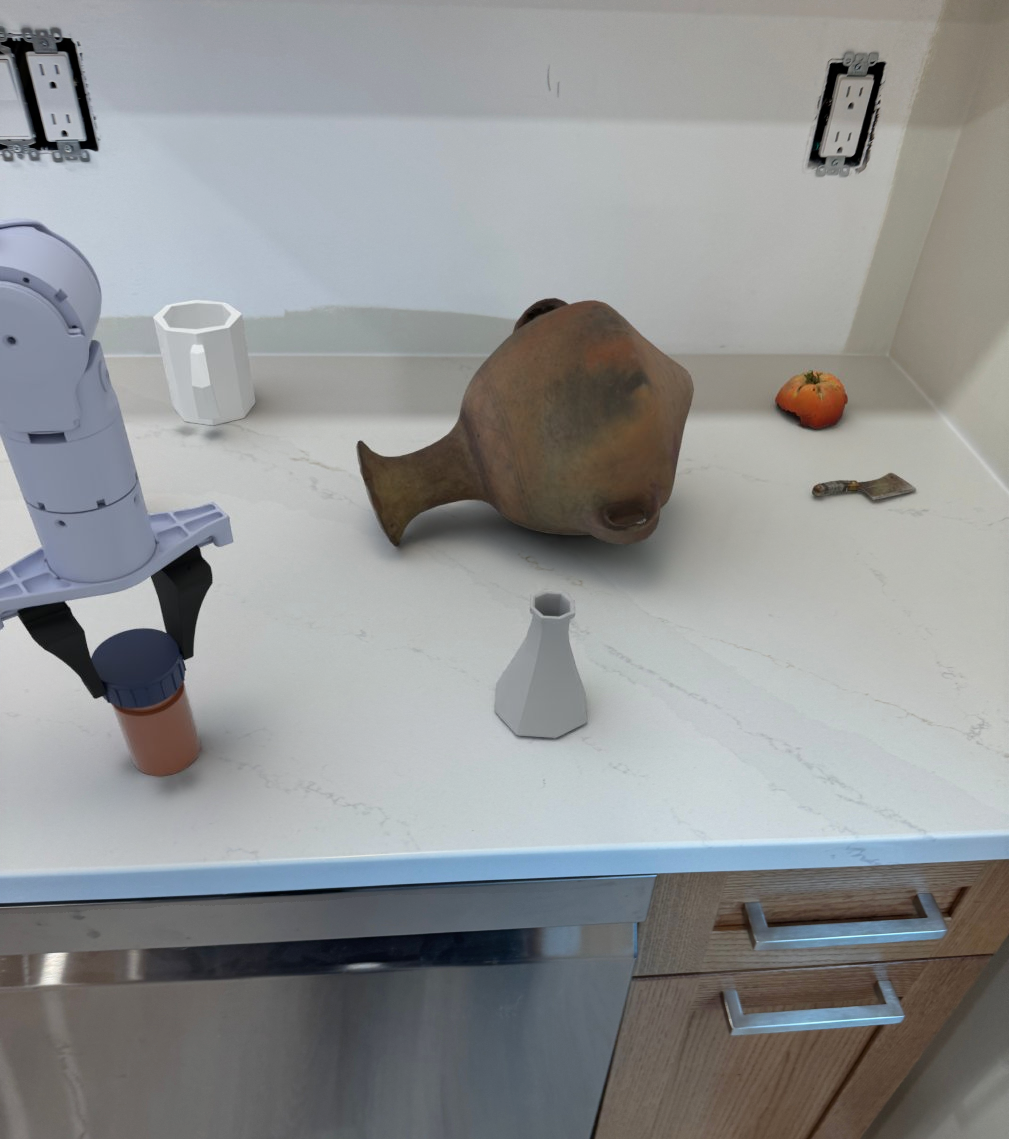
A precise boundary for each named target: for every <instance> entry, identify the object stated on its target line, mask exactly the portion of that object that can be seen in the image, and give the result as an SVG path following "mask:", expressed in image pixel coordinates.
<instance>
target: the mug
mask: <svg viewBox="0 0 1009 1139" xmlns="http://www.w3.org/2000/svg"><path fill="white" fill-rule="evenodd" d="M152 319H153V323H154V328H155V332H156V337H157V341H158V346H159V351H160V354H161V355H160V356H161V359H162V363H163V364H162V365H163V368H164V373H165V378H166V382H167V385H168V390H169V395H170V400H171V404H172V408H173V410H174V411H175V412H176V413H177V414H178V415H179V417H180V418H181V419H182V421H183V422H184V423H191V424H200V425H206V426H216V425H221V424H224V423H229V422H235V421H237V420H241V419H246V416H247V415H248V414H249V413H250V411H251V409H252V408H253V406H254V405H255V404H256V397H255V391H254V383H253V378H252V371H251V370H252V369H251V364H250V363H251V362H250V357H249V352H248V345H247V344H248V343H247V339H246V338H247V337H246V331H245V324H244V318H243V313H242V312H241V311H240V310H238V309H236V308H235V307H233V306H232V305H230V304H229V303H227V302H224V301H215V300H214V301H213V300H203V299H202V300H201V299H192V300H186V301H181V302H174V303H170V304H166V305H165V306H164V307H162V308H161V309H160V310H159V311H158V312H157V313H156V314H155V315H154V316H153V317H152Z"/></svg>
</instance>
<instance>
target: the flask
mask: <svg viewBox="0 0 1009 1139" xmlns="http://www.w3.org/2000/svg"><path fill="white" fill-rule="evenodd" d="M529 612H530V614H531V615H532V616H531V620H530V623H529V627H528V630H527V633H526V635H525V637H524V639H523V640H522V643H521V644H520V646H519V648H518V649H517V651H516V652H515V654H514V656H513V657H512V659H511V660H510V662H509V663H508V665H507V666H506V668H505V669H504V670H503V672H502V673H501V675H500V676H499V678H498V680H497V682H496V683H495V694H494V696H495V697H494V713H496V714H497V716H498V717H500V719H501V720H502V721H503V722H504V723H505V724H506V725H507V727H508V728H509V729H510V730H511V731H512V732H513V733H514V734H515V735H516V736H518V737H519V736H521V737H535V738H536V737H538V738H550V739H557V738H559V737H561V736H563V735H564V734H567V733H568V732H569V733H570V732H571V731H573V730H575V729H577V728H578V727H581V726H583V725H585V724H587V722H588V719H587V718H588V716H587V714H588V713H587V695H586V691H585V688H584V684H583V682H582V678H581V675H580V673H579V670H578V666H577V663H576V660H575V657H574V653H573V650H572V646H571V643H570V632H569V630H570V623H571V620H573V619H574V618H575V617H576V600H575V599H574V598H573V597H572V596H571V595H570V594H569V593H567V592H566V591H565V590H561V589H550V588H549V589H547V588H546V589H542V590H540V591H538V592H535V593H533V594H530V596H529Z"/></svg>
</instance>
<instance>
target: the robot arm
mask: <svg viewBox="0 0 1009 1139" xmlns="http://www.w3.org/2000/svg"><path fill="white" fill-rule="evenodd" d="M102 296H103V295H102V289H101V284H100V280H99V278H98V275H97V273H96V271H95V269H94V267H93V266H92V264H91V262H90V261H89V260H88V258H87V257H86V256H85V255H84V254H83V252H81V250H80V249H79V248H78V247H76V245H75V244H73V243H72V242H71V241H69V240H68V239H67V238H65V237H64V236H62V235H60V234H59V233H56V232H54V231H52V230H51V229H50V228H48V226H46V225H45V224H44V223H42V222H41V221H39V220H36V219H30V218H22V217H21V218H19V217H18V218H17V217H16V218H14V217H13V218H6V219H1V220H0V439H1V442H2V445H3V446H4V449H5V452H6V455H7V458H8V460H9V463H10V465H11V469H12V471H13V474H14V476H15V478H16V482H17V485H18V487H19V489H20V492H21V496H22V498H23V500H24V503H25V505H26V508H27V511H28V513H29V516H30V520H31V522H32V524H33V527H34V530H35V532H36V535H37V537H38V541H39V543H40V547H38V548H37V549H36V550H33V551H32V552H31V553H29V554H27V555H25V556H23V557H22V558H20V559H18V560H17V561H15V562H14V563H12V564H10V565H9V566H7V567H5V568H3V569H2V570H0V631H1V630H3V629H4V628H5V625H4V624H5V623H4V622H5V621H8V620H10V619H13V618H16V617H18V619H19V620H20V622H21V623H22V625H23V627H24V628H25V629H26V631H27V632H28V634H29V635H30V637H31V638H32V640H33V641H34V642H35V643H36V644H37V645H39V647H41V648H42V649H43V650H44V651H46V652H48V653H50V654H52V655H53V656H55V657H56V658H57V659H59V660H60V661H62V662H63V663H64V664H65V665H67V666H68V667H69V668H70V669H71V670H72V671H73V672H74V673H75V674H76V675H77V676H78V677H79V678H80V680H81V682H82V683H83V685H84V686H85V688H86V690H87V691H88V692H89V694H90V695H91V697H92V699H94V700H97V699H100V698H103V697H102V696H104V695H106V693H105V689H104V686H103V684H102V681H101V679H100V677H99V675H98V673H97V671H96V669H95V667H94V665H93V663H92V660H91V657H92V655H91V653H90V650H89V646H88V641H87V637H86V631H85V630H84V628H83V627H82V625H81V624H80V623H79V621H78V620H77V618H76V617H75V616H74V614H73V611H72V609H71V607H70V606H69V605H68V603H67V602H68V601H75V600H81V599H87V598H92V597H93V598H94V597H98V596H105V595H111V594H116V593H119V592H122V591H126V590H129V589H131V588H133V587H135V586H138V585H140V584H141V583H143V582H144V581H146V580H147V579H149V578H150V579H151V582H152V585H153V587H154V590H155V593H156V595H157V598H158V604H159V607H160V611H161V616H162V620H163V621H162V622H163V626H164V629H165V632H166V633H167V634H169V635H170V636H171V637H172V638H173V639H174V640H175V642H176V643H177V644H178V646H179V649H180V653H182V656H183V660H184V662H185V661H187V660H189V659H192V658H193V657H194V655H195V654H194V653H195V636H196V629H197V623H198V619H199V615H200V610H201V607H202V605H203V602H204V600H205V598H206V595H207V594H208V592H209V590H210V588H211V587H212V585H213V578H214V577H213V570H212V567H211V565H210V563H209V562H208V561H207V560H206V559H205V558H204V557H203V555H202V551H201V550H202V549H201V548H203V547H206V546H209V545H211V544H213V545H214V547H216V548H223V547H225V546H227V545H230V544H232V543H234V542H235V541H234V535H233V531H232V526H231V521H230V516H229V515H228V514H227V513H226V512H225V511H224V510H223V509H222V508H221V507H220V506H219V505H218V504H217V503H216V502H214V501H211V502H208V503H205V504H202V505H198V506H197V505H196V506H193V507H188V508H182V509H176V510H168V511H161V512H154V513H148V509H147V505H146V500H145V498H144V493H143V490H142V486H141V482H140V479H139V475H138V470H137V467H136V463H135V459H134V455H133V452H132V448H131V444H130V441H129V436H128V434H127V433H128V432H127V429H126V425H125V421H124V418H123V414H122V410H121V407H120V402H119V399H118V395H117V394H116V390H115V389H114V387H113V385H112V381H111V378H110V372H109V369H108V367H107V362H106V358H105V355H104V351H103V347H102V344H101V341H99V340H96V339H94V335H95V332H96V330H97V327H98V324H99V321H100V318H101V313H102V302H103V301H102V300H103V299H102Z"/></svg>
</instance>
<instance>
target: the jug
mask: <svg viewBox="0 0 1009 1139" xmlns="http://www.w3.org/2000/svg"><path fill="white" fill-rule="evenodd" d="M694 393H695V386H694V381H693V378H692V375H691V374H690V372H689V371H688V369H687V368H686V367H684V366H683V365H681V364H679V363H678V362H677V361H675V360H674V359H673V358H671V357H670V356H668V355H667V354H665V353H664V352H663V351H661V350H660V349H659V348H658V347H657V346H655V345H654V344H653V343H652V342H651V341H650V340H649V339H647V338H646V337H645V336H644V335H642V334H641V333H640V331H639V330H637V328H636V327H634V326H633V325H632V324H631V323H630V322H629V321H628V320H627V319H626V317H624V315H621V314H620V312H618V311H617V310H616V309H615V308H613V307H612V306H611V305H610V304H608V303H606V302H604V301H600V300H595V299H594V300H582V301H576V302H573V303H568V302H566V301H565V300H562V299H559V298H556V297H550V298H543V299H541V300H538V301H535V303H533V304H531V305H530V306H529V307H528V308H527V309H526V310H524V312H523V313H522V314H521V316H520V317H519V318H518V320H517V321H516V322H515V324H514V326H513V330H512V332H511V334H510V335H509V336H507V337H506V338H505V339H504V340H503V342H501V343H500V345H499V346H497V348H495V349H494V351H493V352H492V353H491V354H490V355H489V356H488V357H487V358H486V359H485V361H484V362H483V363H482V364H480V366H479V368H478V369H477V370H476V371H475V373H474V375H473V376H472V377H471V379H470V381H469V383H468V385H467V387H466V389H465V392H464V394H463V395H462V396H463V397H462V400H461V404H460V410H459V415H458V418H457V420H456V423H455V425H454V426H453V427H452V428H451V429H450V431H449V432H448V433H446V435H444V436H442V438H440V439H439V440H436V441H435V442H433V443H431V444H430V445H427V446H425V447H423V448H421V449H418V450H415V451H412V452H409V453H407V454H402V455H395V456H386V455H385V456H384V455H382V454H379V453H377V452H376V451H373V450H372V449H371V448H370V447H369V446H368V445H367V444H366V442H364V441H363V440H360V439H359V440H358V441H357V443H356V448H355V449H356V457H357V464H358V465H359V473H360V475H361V477H362V481H363V483H364V487H365V491H366V495H367V498H368V501H369V503H370V505H371V507H372V510H373V512H374V515H375V517H376V519H377V522H378V525H379V527H380V529H381V531H382V532H383V533H384V535H385V536H386V538H387V540H388V541H389V543H391V544H392V545H393V546H394V547H398V546H399V545H400V544H401V541H402V537H403V535H404V532H405V530H406V528H407V527H408V525H409V524H410V523H411V521H412V520H414V519H415V518H416V517H417V516H419V515H420V514H422V513H425V512H427V511H429V510H432V509H434V508H436V507H439V506H444V505H447V504H453V503H457V502H461V501H479V502H483V503H486V504H489V505H490V506H491V507H493V509H495V510H496V511H497V512H498V513H499V514H500V515H501V516H503V517H504V518H506V519H507V520H508V521H511V523H514V524H515V525H517V526H519V527H523V528H525V529H527V530H531V531H536V532H540V533H545V534H551V535H559V536H560V535H561V536H589V535H591V536H593V537H595V538H596V539H598V540H600V541H601V542H605V543H610V544H615V545H631V544H637V543H639V542H642V541H645V540H647V539H648V538H649V537H651V535H653V533H654V532H655V531H656V530H657V527H658V525H659V522H660V518H661V509H662V508H663V507H665V506H666V504H667V503H668V502H669V500H670V498H671V496H672V493H673V490H674V489H673V488H674V484H675V480H676V473H677V467H678V462H679V457H680V451H681V448H682V442H683V436H684V432H685V427H686V423H687V420H688V417H689V413H690V409H691V406H692V402H693V397H694Z"/></svg>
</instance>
